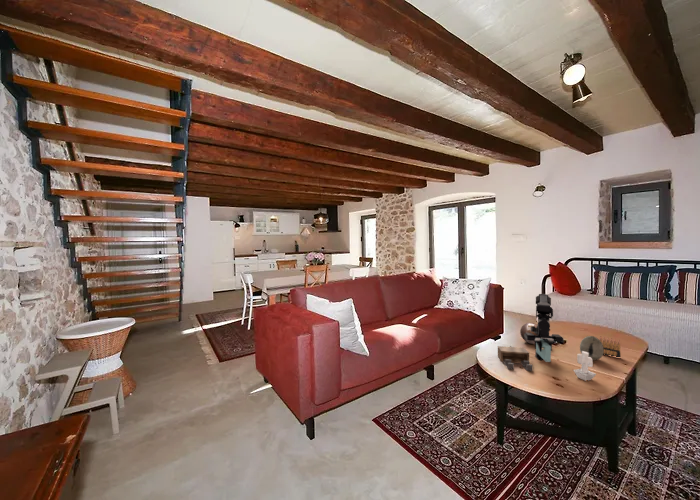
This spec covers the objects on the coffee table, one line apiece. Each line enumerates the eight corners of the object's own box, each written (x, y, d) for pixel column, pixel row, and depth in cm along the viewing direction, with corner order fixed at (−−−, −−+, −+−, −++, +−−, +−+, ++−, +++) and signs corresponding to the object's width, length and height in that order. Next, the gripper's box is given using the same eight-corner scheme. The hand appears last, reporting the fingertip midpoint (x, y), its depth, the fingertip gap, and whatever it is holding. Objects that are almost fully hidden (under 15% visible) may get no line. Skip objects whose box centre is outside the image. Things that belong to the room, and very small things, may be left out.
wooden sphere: (519, 344, 211) (519, 324, 210) (520, 338, 224) (521, 319, 223) (544, 348, 203) (544, 327, 202) (544, 341, 215) (544, 321, 215)
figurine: (597, 380, 159) (598, 353, 159) (584, 382, 157) (585, 355, 156) (584, 374, 166) (584, 348, 166) (571, 376, 164) (572, 350, 163)
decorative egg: (581, 354, 193) (581, 331, 192) (604, 359, 185) (605, 336, 184) (578, 359, 185) (578, 336, 184) (602, 365, 177) (603, 341, 176)
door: (534, 351, 179) (534, 337, 179) (540, 352, 179) (540, 337, 178) (543, 361, 166) (543, 346, 165) (550, 361, 165) (550, 346, 165)
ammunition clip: (620, 358, 186) (621, 339, 185) (620, 358, 185) (620, 340, 184) (598, 353, 194) (599, 335, 193) (598, 353, 193) (598, 336, 192)
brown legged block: (524, 358, 188) (524, 347, 188) (535, 371, 171) (535, 359, 171) (497, 356, 192) (497, 346, 192) (505, 368, 175) (505, 357, 174)
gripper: (555, 322, 177) (554, 347, 178) (521, 320, 181) (521, 345, 182) (564, 328, 166) (563, 354, 167) (527, 326, 170) (527, 352, 171)
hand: (543, 351), depth 172 cm, fingers closed on door, 2 cm apart
